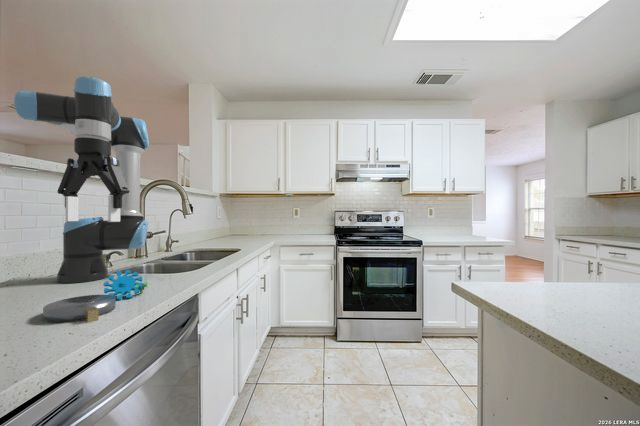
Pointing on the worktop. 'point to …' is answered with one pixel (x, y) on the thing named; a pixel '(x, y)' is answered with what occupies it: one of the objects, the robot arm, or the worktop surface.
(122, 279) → the gear
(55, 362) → the worktop surface
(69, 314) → the dark grey frying pan
